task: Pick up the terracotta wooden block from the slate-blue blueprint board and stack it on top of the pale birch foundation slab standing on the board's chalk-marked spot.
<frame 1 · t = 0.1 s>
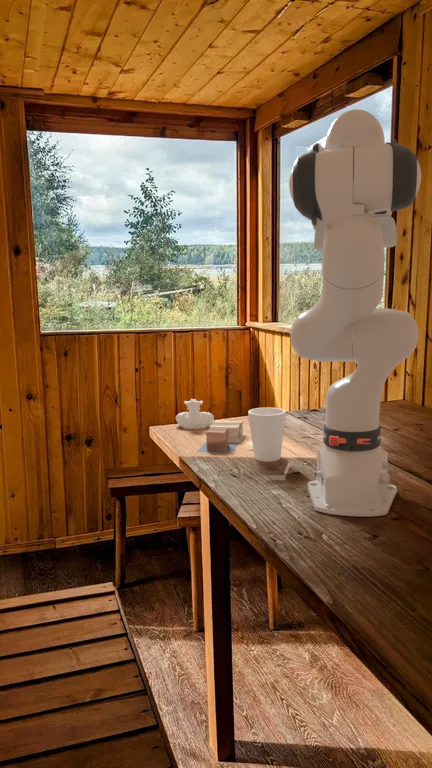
hand: (354, 267, 151), 48 cm above the table, fingers open, 8 cm apart
white figurine: (195, 431, 186), on the table
blueprint board: (222, 446, 168), on the table
foam cup: (267, 462, 152), on the table
terracotta block: (218, 448, 162), point 1 cm above the table, touching blueprint board
birch slab: (226, 437, 173), point 1 cm above the table, touching blueprint board
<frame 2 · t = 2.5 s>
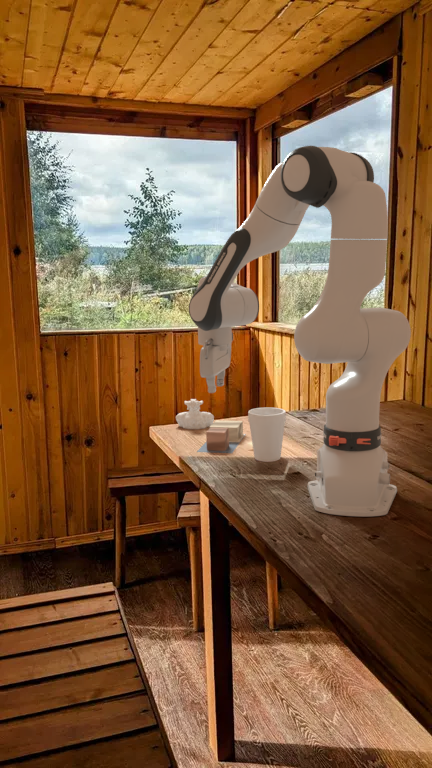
hand: (216, 389, 159), 17 cm above the table, fingers open, 8 cm apart
nothing on the table moved.
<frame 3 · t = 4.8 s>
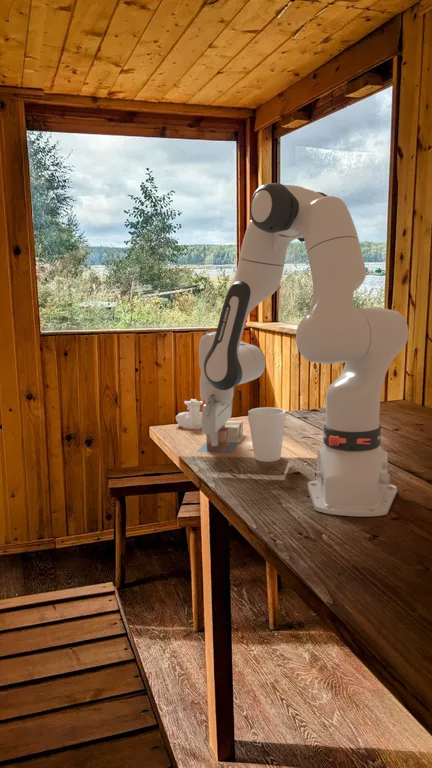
hand: (218, 442, 162), 3 cm above the table, fingers closed on terracotta block, 5 cm apart
terracotta block: (218, 448, 162), point 1 cm above the table, touching blueprint board, gripper
everything else where it was.
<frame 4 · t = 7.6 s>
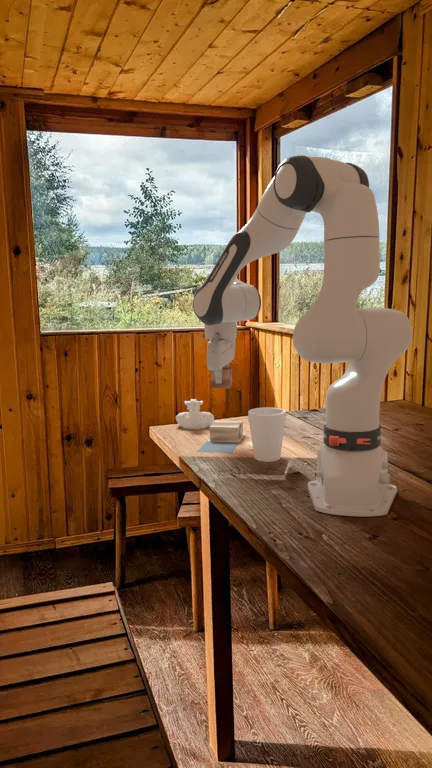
hand: (221, 380, 168), 18 cm above the table, fingers closed on terracotta block, 5 cm apart
terracotta block: (221, 386, 168), point 16 cm above the table, touching gripper
everything else where it was.
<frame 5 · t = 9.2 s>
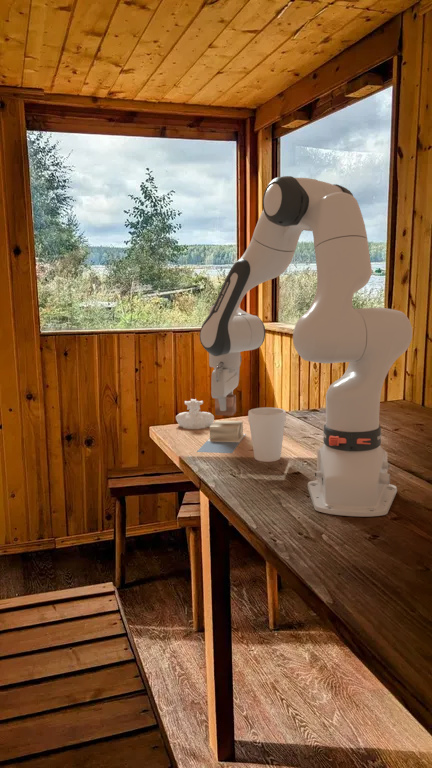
hand: (226, 407, 171), 10 cm above the table, fingers closed on terracotta block, 5 cm apart
terracotta block: (225, 413, 172), point 8 cm above the table, touching gripper
everything else where it was.
when the fingers open (8 cm above the table, at t = 10.4 s): terracotta block stays where it is, resting on birch slab.
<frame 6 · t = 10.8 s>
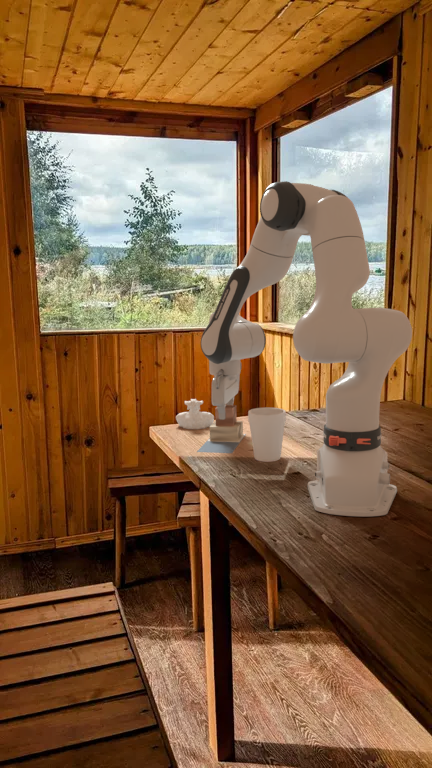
hand: (226, 415, 171), 8 cm above the table, fingers open, 8 cm apart
terracotta block: (226, 423, 172), point 5 cm above the table, touching birch slab
birch slab: (226, 437, 173), point 1 cm above the table, touching blueprint board, terracotta block
everything else where it was.
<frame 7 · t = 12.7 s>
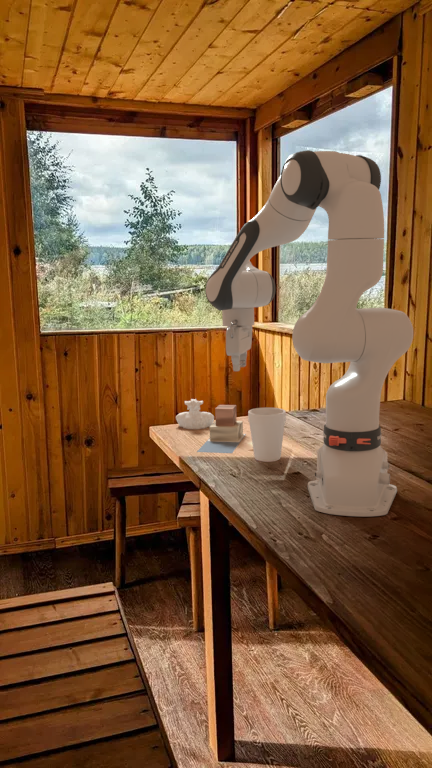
hand: (239, 368, 168), 21 cm above the table, fingers open, 8 cm apart
nothing on the table moved.
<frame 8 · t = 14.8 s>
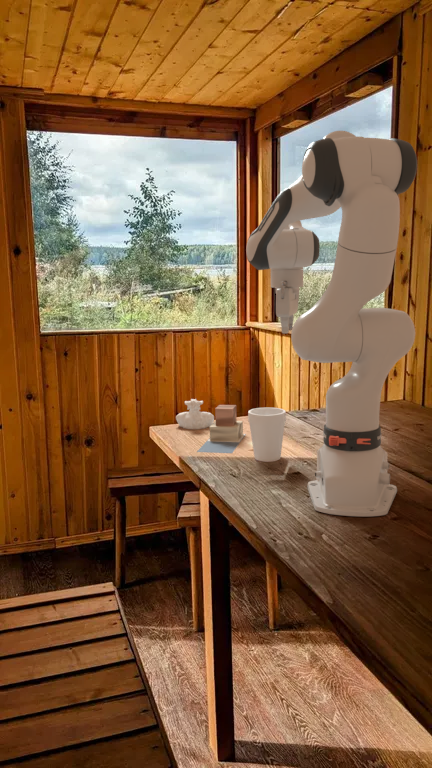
hand: (287, 331, 165), 31 cm above the table, fingers open, 8 cm apart
nothing on the table moved.
at the end: terracotta block 0.0 cm off-centre on the birch slab, point 4.0 cm above the birch slab's base; terracotta block tilted 0°; the gripper is holding nothing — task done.
